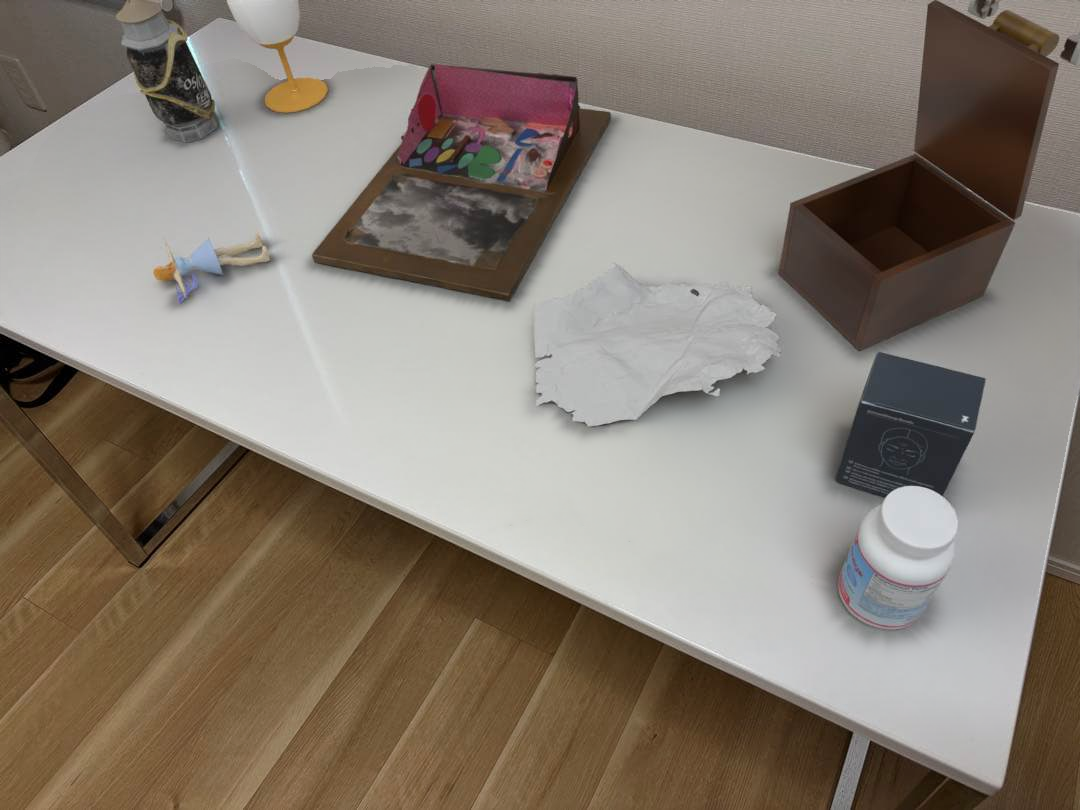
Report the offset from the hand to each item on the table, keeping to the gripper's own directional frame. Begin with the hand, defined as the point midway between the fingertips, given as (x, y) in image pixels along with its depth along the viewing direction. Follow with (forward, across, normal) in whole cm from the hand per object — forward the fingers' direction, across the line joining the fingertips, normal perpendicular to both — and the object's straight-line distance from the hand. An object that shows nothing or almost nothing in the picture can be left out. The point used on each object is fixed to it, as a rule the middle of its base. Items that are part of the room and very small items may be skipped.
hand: (1025, 36), depth 64 cm
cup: (+22, +72, +50) cm, 90 cm away
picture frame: (+23, +38, +37) cm, 57 cm away
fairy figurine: (+23, +39, +68) cm, 81 cm away
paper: (+23, +4, +32) cm, 40 cm away
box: (+23, -18, +21) cm, 36 cm away
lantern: (+22, +72, +65) cm, 99 cm away
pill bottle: (+24, -26, +29) cm, 46 cm away
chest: (+23, +1, +8) cm, 24 cm away
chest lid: (+6, 0, +2) cm, 7 cm away
